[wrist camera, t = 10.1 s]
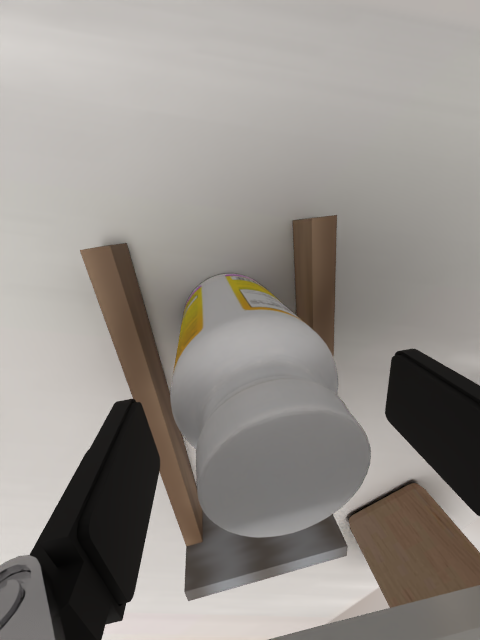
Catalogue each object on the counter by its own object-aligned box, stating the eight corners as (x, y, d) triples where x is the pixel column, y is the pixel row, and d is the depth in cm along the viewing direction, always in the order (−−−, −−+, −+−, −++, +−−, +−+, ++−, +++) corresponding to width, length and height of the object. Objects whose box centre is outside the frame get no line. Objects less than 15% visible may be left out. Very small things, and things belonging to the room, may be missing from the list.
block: (342, 515, 29) (583, 997, 11) (415, 476, 29) (797, 913, 10) (367, 549, 33) (576, 950, 15) (431, 514, 33) (733, 887, 14)
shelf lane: (313, 217, 16) (371, 211, 11) (316, 488, 27) (346, 555, 21) (102, 246, 15) (44, 256, 9) (190, 519, 25) (188, 601, 20)
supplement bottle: (202, 366, 19) (207, 589, 7) (169, 289, 17) (92, 439, 5) (281, 338, 19) (409, 510, 7) (259, 258, 17) (402, 327, 5)
